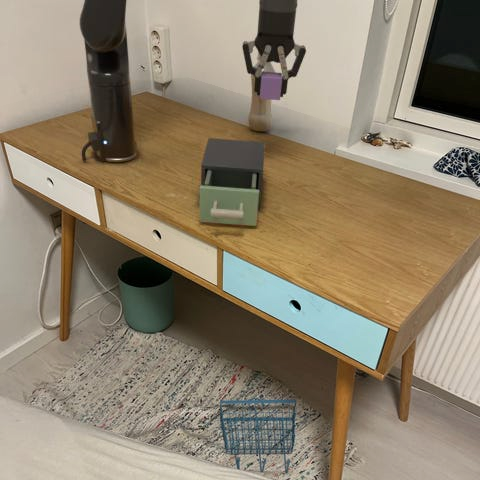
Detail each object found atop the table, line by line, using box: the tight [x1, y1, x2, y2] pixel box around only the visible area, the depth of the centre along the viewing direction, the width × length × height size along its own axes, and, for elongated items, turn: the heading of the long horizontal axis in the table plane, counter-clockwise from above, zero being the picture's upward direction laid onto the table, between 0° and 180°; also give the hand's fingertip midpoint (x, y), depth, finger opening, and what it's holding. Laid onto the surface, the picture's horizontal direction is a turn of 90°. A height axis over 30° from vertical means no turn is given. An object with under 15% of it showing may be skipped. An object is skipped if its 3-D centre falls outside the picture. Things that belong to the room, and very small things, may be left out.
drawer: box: [199, 169, 259, 227], centre depth 102 cm, size 18×11×7 cm, turn 177°
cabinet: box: [200, 137, 265, 211], centre depth 110 cm, size 15×13×9 cm
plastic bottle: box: [247, 51, 276, 132], centre depth 137 cm, size 6×7×20 cm
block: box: [260, 71, 282, 101], centre depth 112 cm, size 4×4×4 cm
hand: (269, 94), depth 113 cm, fingers closed on block, 4 cm apart
